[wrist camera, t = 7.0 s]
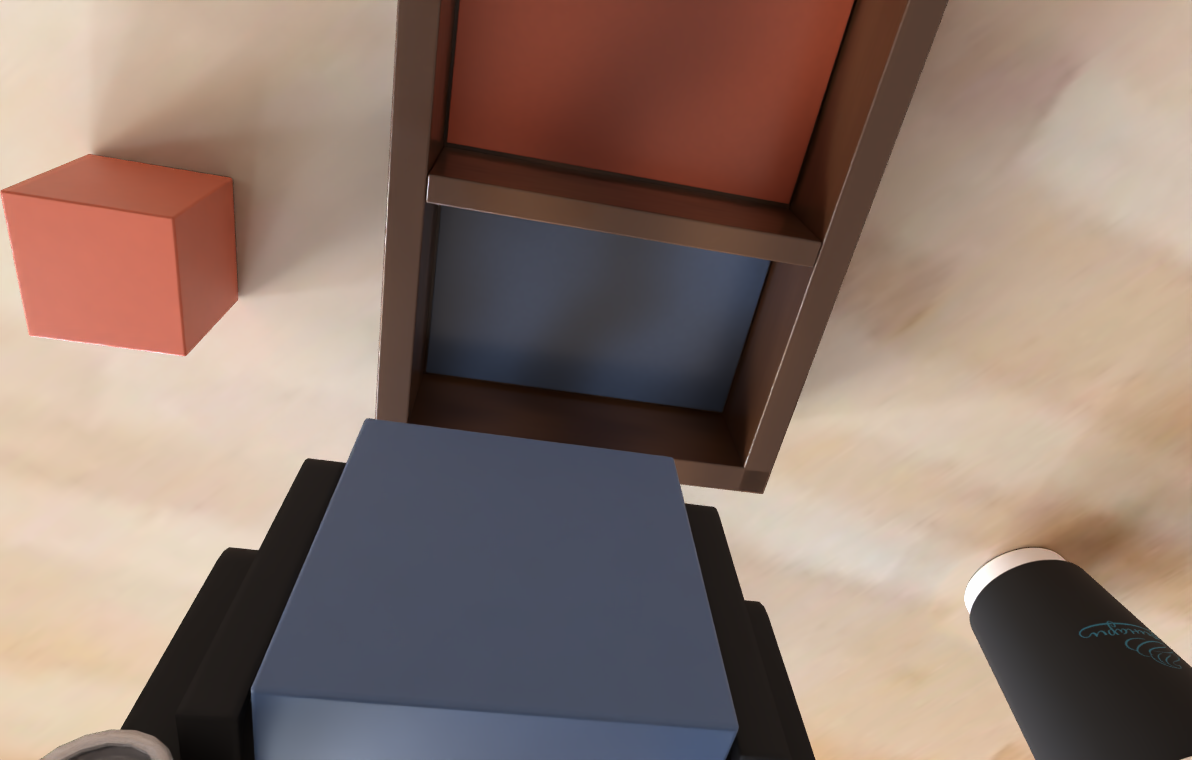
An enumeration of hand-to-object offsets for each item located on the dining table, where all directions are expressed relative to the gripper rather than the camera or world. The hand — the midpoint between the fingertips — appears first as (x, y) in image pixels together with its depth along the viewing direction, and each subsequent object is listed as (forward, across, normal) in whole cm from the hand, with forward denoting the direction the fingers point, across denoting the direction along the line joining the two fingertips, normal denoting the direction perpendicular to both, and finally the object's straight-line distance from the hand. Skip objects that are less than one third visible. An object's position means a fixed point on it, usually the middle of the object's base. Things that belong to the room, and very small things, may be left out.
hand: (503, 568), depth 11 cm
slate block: (0, 0, 0) cm, 0 cm away
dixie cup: (+16, -24, +13) cm, 32 cm away
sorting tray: (+16, -2, -2) cm, 16 cm away
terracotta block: (+16, +12, +2) cm, 20 cm away
